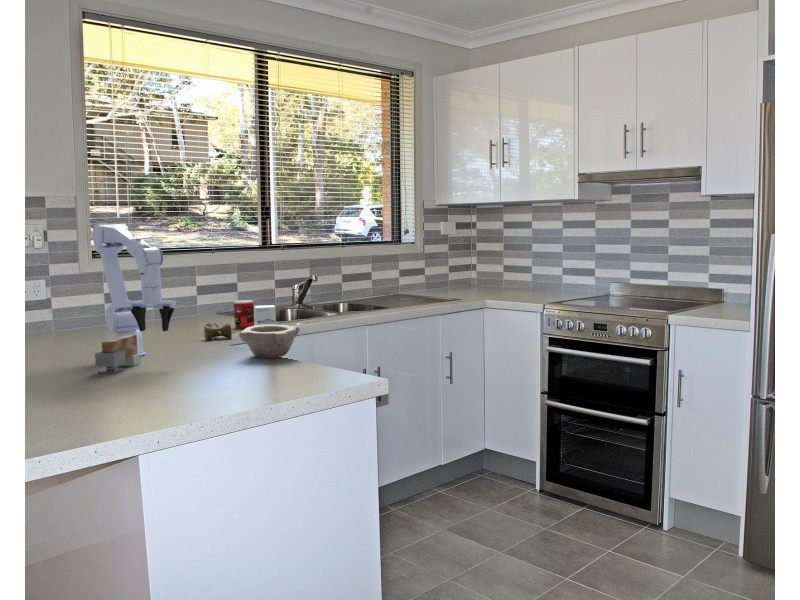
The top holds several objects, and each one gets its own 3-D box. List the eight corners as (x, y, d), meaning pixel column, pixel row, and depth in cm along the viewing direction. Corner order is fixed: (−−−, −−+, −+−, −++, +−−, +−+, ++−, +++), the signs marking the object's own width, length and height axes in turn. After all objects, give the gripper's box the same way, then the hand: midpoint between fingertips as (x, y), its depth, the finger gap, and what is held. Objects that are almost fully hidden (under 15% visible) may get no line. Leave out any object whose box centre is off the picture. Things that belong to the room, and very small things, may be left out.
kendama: (224, 334, 282) (234, 340, 264) (199, 337, 278) (208, 343, 260) (222, 319, 281) (233, 324, 263) (198, 322, 277) (207, 327, 259)
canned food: (234, 326, 298) (232, 300, 297) (253, 325, 301) (252, 299, 300) (235, 329, 291) (234, 302, 290) (255, 328, 293) (254, 301, 292)
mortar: (285, 361, 220) (284, 332, 219) (235, 360, 224) (233, 331, 223) (304, 351, 237) (303, 324, 236) (257, 350, 240) (256, 323, 239)
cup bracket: (108, 369, 215) (106, 349, 214) (126, 369, 214) (124, 349, 213) (96, 373, 209) (94, 353, 208) (114, 373, 208) (113, 353, 207)
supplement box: (256, 342, 257) (255, 307, 256) (255, 339, 264) (253, 305, 263) (277, 341, 259) (275, 306, 258) (275, 337, 266) (273, 304, 265)
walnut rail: (129, 353, 223) (127, 334, 223) (137, 353, 223) (136, 334, 222) (103, 362, 210) (101, 342, 209) (112, 362, 209) (110, 342, 208)
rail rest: (125, 363, 223) (125, 353, 223) (140, 363, 222) (139, 354, 222) (119, 365, 220) (118, 356, 220) (134, 365, 219) (133, 356, 219)
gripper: (122, 288, 216) (125, 332, 217) (166, 288, 213) (169, 332, 215) (134, 286, 223) (137, 329, 224) (178, 285, 220) (180, 329, 222)
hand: (154, 330), depth 220 cm, fingers open, 7 cm apart
